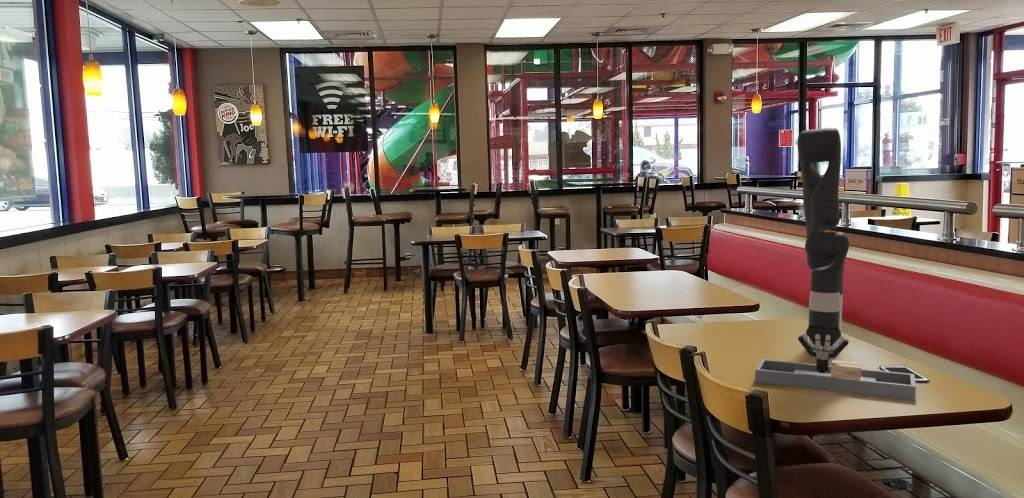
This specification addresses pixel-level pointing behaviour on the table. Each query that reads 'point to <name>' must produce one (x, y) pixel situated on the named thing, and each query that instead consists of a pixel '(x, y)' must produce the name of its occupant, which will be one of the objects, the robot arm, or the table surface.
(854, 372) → the birch block
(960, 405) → the table surface
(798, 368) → the channel
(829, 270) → the robot arm
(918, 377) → the cell phone
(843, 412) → the table surface
